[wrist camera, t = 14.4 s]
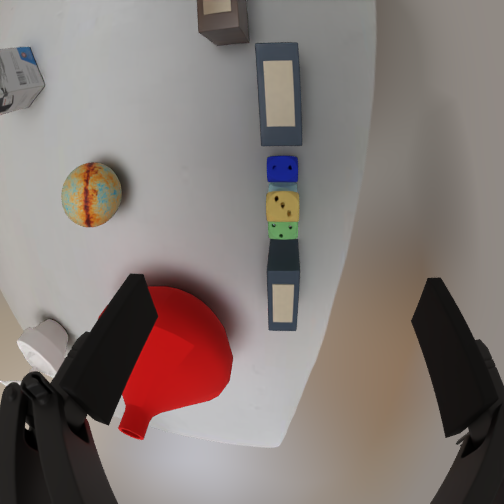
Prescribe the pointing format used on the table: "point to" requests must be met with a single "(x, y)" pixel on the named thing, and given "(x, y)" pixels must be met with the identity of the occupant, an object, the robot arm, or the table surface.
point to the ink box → (18, 79)
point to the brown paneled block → (223, 21)
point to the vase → (176, 360)
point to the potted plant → (43, 348)
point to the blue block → (280, 134)
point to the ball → (91, 194)
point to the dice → (282, 197)
